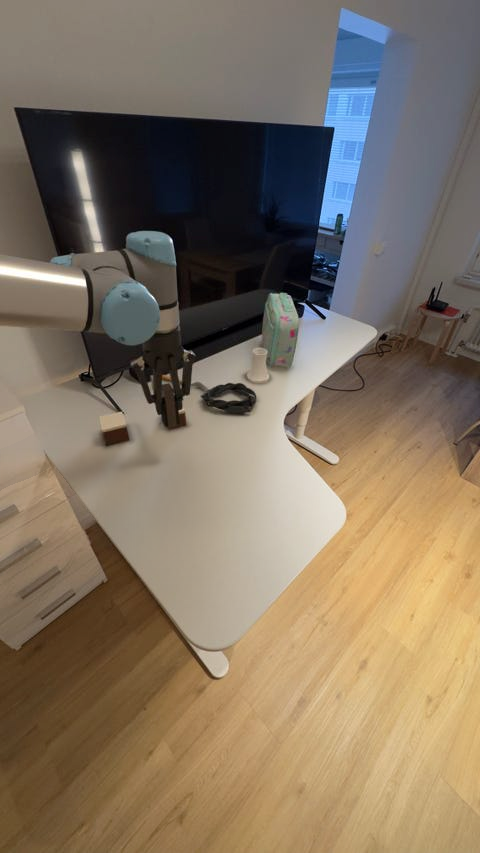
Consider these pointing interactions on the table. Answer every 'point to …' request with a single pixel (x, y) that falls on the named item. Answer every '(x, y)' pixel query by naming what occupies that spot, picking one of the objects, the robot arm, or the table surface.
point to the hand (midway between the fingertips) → (170, 422)
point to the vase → (258, 367)
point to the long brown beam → (168, 403)
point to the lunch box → (280, 330)
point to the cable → (232, 405)
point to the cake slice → (181, 418)
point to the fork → (191, 384)
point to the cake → (114, 428)
